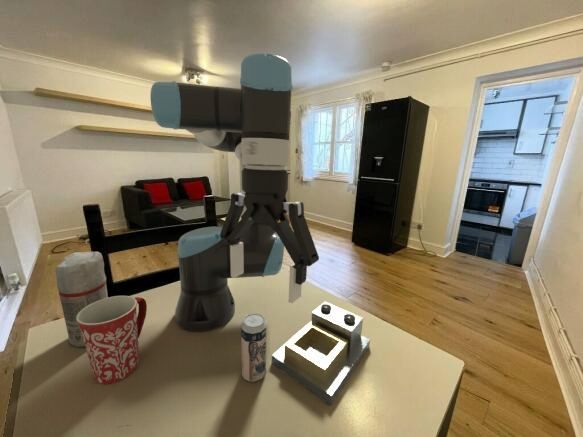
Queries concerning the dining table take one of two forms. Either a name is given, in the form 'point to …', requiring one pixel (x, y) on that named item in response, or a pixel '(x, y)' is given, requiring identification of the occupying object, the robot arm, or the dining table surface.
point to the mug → (112, 336)
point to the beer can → (253, 347)
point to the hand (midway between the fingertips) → (263, 286)
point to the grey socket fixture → (324, 351)
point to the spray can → (80, 288)
